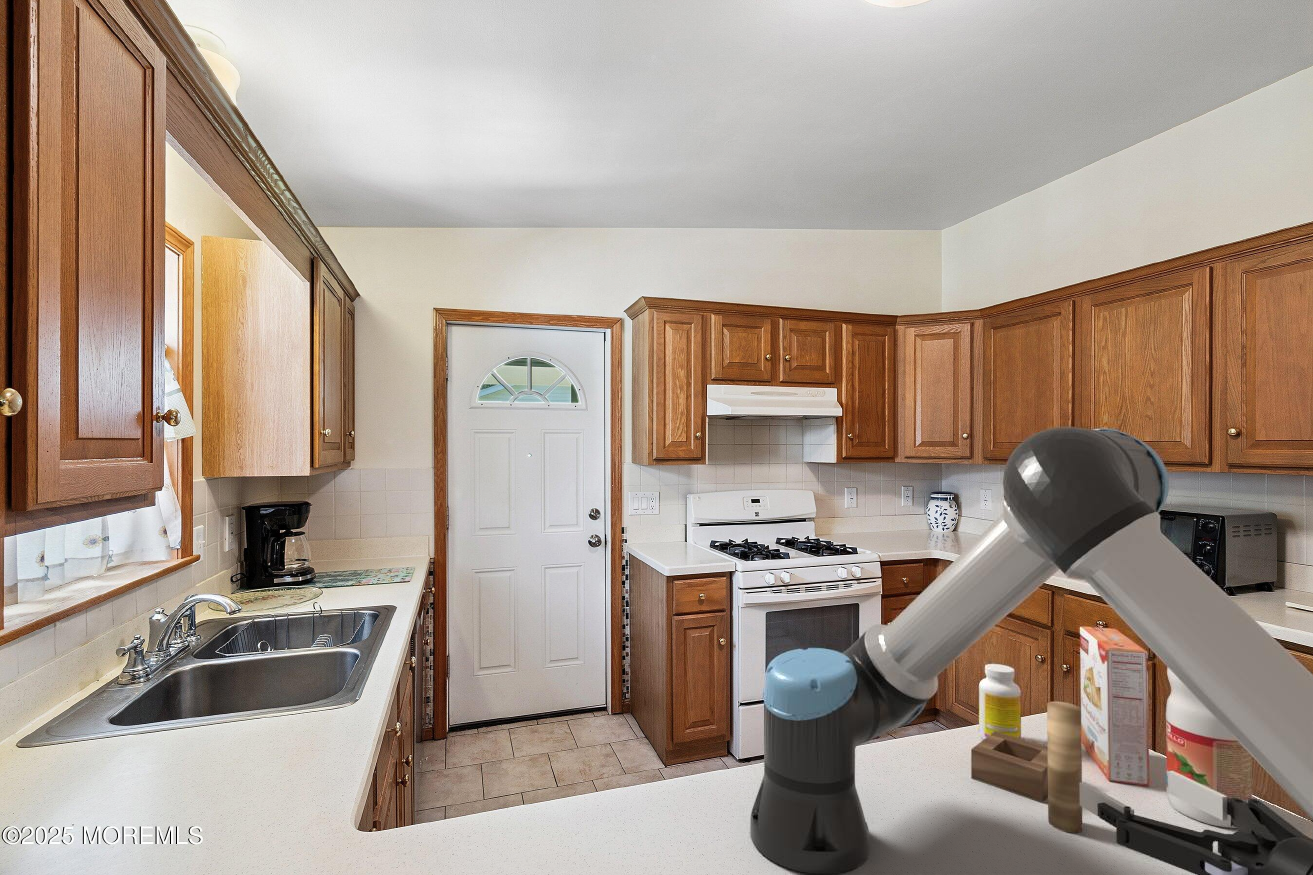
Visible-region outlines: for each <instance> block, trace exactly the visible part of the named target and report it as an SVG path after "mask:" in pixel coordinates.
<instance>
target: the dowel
mask: <svg viewBox="0 0 1313 875" xmlns="http://www.w3.org/2000/svg"><path fill="white" fill-rule="evenodd" d="M1046 707H1047V709H1046V711H1047V712H1046V714H1047V716H1046V717H1047V718H1046V720H1047V725H1046V727H1047V731H1046V732H1047V747H1048V797H1047V816H1048V817H1047V822H1048V823H1049V825H1051V827H1053V828H1055V829H1057V830H1059V831H1061V832H1066V833H1070V834H1072V833H1073V834H1075V833H1076V834H1078V833H1081V832H1082V831H1083V807H1082V806H1080V783H1082V782H1083V760H1082V758H1083V756H1082V753H1083V752H1082V750H1083V745H1082V734H1081V707H1080V706H1077V705H1075V704H1072V703H1070V702H1065V701H1049V702H1047V703H1046Z"/></svg>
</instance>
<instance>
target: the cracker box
mask: <svg viewBox="0 0 1313 875" xmlns="http://www.w3.org/2000/svg"><path fill="white" fill-rule="evenodd" d="M1079 645H1080V646H1079V647H1080V648H1079V649H1080V650H1079V653H1080V656H1079V657H1080V708H1081V735H1082V747H1084V749H1085V750H1086V752H1087V753H1088V754H1089V755H1090V757H1091V758H1092V760H1093V761H1094V762H1095V764H1096V765H1097V766H1098V768H1099V770H1100V771H1101V773H1102V774H1103V775H1104V776H1105V777H1106V780H1107V781H1108V782H1115V783H1123V784H1132V785H1139V786H1146V787H1150V785H1151V784H1150V737H1149V736H1150V735H1149V734H1150V730H1149V729H1150V728H1149V727H1150V726H1149V725H1150V724H1149V717H1150V716H1149V656H1148V655H1149V653H1148V651H1147V650H1145V649H1144V648H1142V647H1141V646H1140V645H1138V644H1137V643H1135V642H1134V641H1133V640H1131V639H1130V638H1129V637H1127V636H1126V635H1125V634H1123V633H1122V632H1120V631H1119V630H1118V629H1117V628H1109V627H1108V628H1107V627H1097V626H1080V627H1079Z"/></svg>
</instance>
